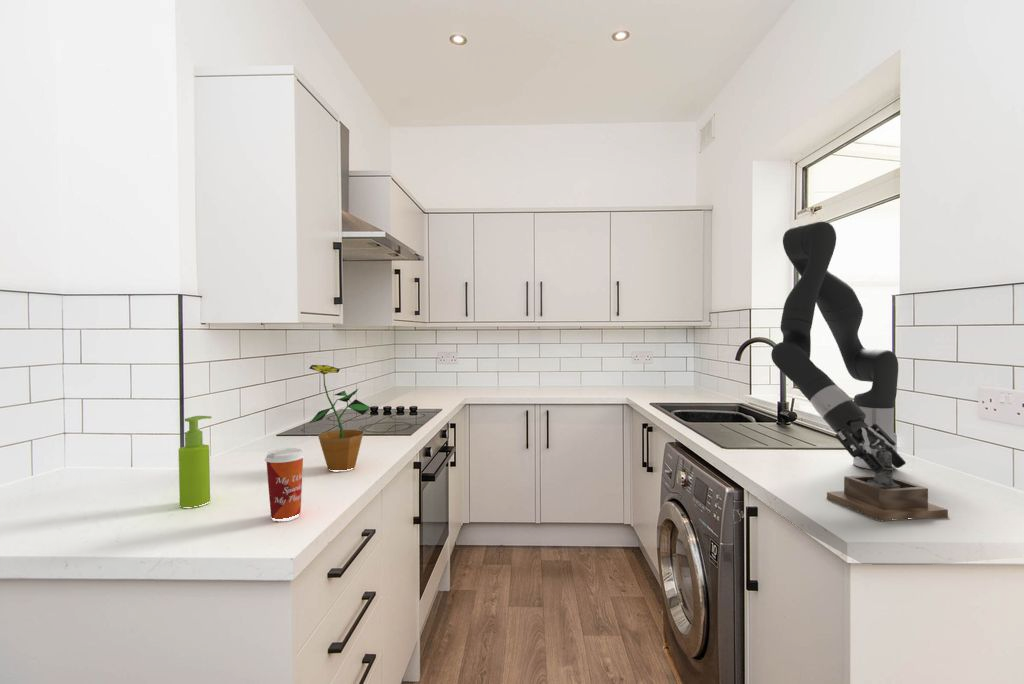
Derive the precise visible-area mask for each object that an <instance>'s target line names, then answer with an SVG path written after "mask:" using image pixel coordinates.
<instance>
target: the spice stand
mask: <svg viewBox="0 0 1024 684" xmlns="http://www.w3.org/2000/svg"><path fill="white" fill-rule="evenodd" d="M874 477H875V474H867V475H851V476H849V475H847V476H845V475H844V477H843V480H844V481H843V490H840V491H839V490H837V491H827V492H826V499H827V498H828V500H829V499H830V501H832V502H834V501H835V502H834V503H836V502H837V503H836V504H839V503H840V504H839V505H841V504H842V506H843V505H844V507H845V506H847V507H846V508H848V507H849V508H848V509H850V508H851V509H850V510H852V509H853V510H852V511H855V512H857V511H858V512H857V513H859V512H860V513H859V514H861V513H862V514H861V515H864V516H866V515H867V517H868V516H869V518H871V517H872V518H871V519H873V518H874V519H873V520H875V519H877V520H880V521H879V522H882V521H881V520H892V519H908V518H923V519H929V518H928V517H938V518H948V517H949V510H948V508H944V507H943V506H942V507H941V506H938V505H936V504H933V503H930V502H929V488H928V487H924V486H921V485H919V484H916V483H912V482H909V481H906V480H903V479H900V478H897V477H893V476H892V479H893V482H894V483H896V484H898V485H900V488H892V489H883V488H880V487H877V486H875V485H872V484H869V483H867V481H869V480H873V479H874ZM877 520H876V521H877ZM908 520H909V519H908Z"/></svg>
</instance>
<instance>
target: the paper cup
mask: <svg viewBox="0 0 1024 684" xmlns="http://www.w3.org/2000/svg"><path fill="white" fill-rule="evenodd" d="M304 458H305V454H304V453H303V451H302V449H301V448H298V447H297V448H296V447H287V448H285V447H284V448H279V449H274V450H271V451H268V452H267V453H266V457H265V458H264V461H265V462H266V473H267V485H268V497H269V498H268V499H269V506H270V507H269V508H270V509H269V510H270V517H272V518H275V519H283V518H289V517H292V516H295V515H297V514H299V513H300V514H301V510H302V509H301V507H302V491H303V490H302V489H303V465H304V462H303V461H304Z"/></svg>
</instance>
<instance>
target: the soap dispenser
mask: <svg viewBox="0 0 1024 684" xmlns="http://www.w3.org/2000/svg"><path fill="white" fill-rule="evenodd" d="M204 419H205V420H206V419H212V416H211V415H193V416H191V417H190V416H189V417H186V418H184V422H186V423H188V430H187V431H186V432H184V446H181V447H180V448H178V484H179V485H178V487H179V507H180V506H181V507H194V506H199V505H202V504H205V503H207V502H209V501H210V502H211V483H210V482H211V478H210V477H211V475H210V472H211V471H210V470H211V469H210V468H211V467H210V445H209V444H204V443H203V441H204V440H203V438H204V437H203V430H200V429H199V420H204Z"/></svg>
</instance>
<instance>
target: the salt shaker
mask: <svg viewBox="0 0 1024 684" xmlns="http://www.w3.org/2000/svg"><path fill="white" fill-rule="evenodd" d="M882 448H883V449H881V450H878V451H877V452H876V458H877V459H878V460H879V461H880V462H881V463H882V464H883V466H884V467H885V469H884V470H883V471H881V472H879V473H875V472H874V475H875V477H874V479H873V480H869V481H867V483H869V484H872V485H875V486H877V487H880V488H883V489H892V488H900V485H898V484H896V483H894V482H893V479H892V477H893V470H894V469H895V468H894V467H892V454H891V453H890V452H889V451H887V450H885V447H884V446H883V447H882Z"/></svg>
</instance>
